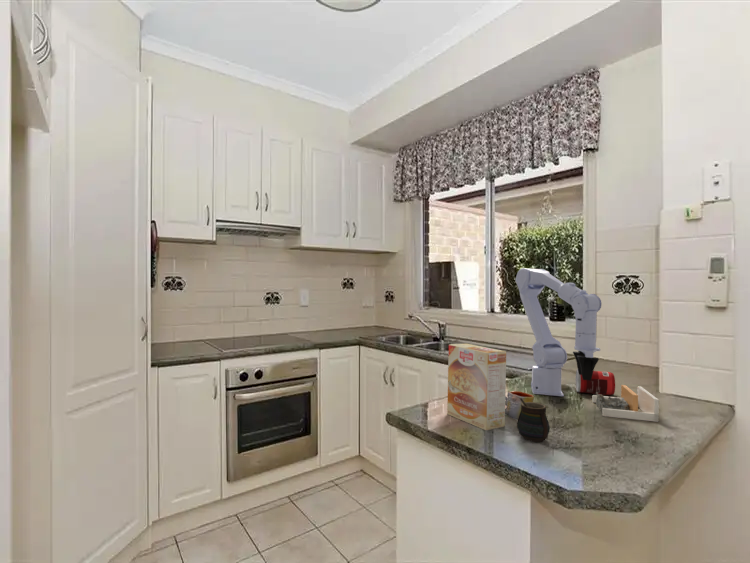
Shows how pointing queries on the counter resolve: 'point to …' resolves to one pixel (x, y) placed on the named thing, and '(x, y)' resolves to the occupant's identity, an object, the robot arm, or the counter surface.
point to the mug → (516, 403)
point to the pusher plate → (629, 398)
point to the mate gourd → (533, 422)
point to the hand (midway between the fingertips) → (584, 377)
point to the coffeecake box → (477, 385)
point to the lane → (645, 403)
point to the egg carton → (611, 403)
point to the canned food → (596, 383)
